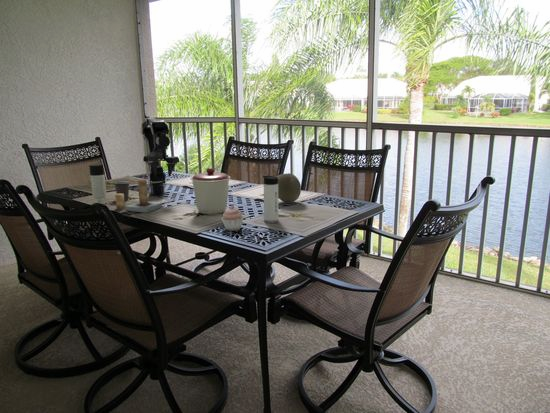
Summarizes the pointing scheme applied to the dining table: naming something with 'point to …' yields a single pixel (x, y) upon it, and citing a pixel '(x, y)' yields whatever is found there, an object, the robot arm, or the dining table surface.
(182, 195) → the dining table surface
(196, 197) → the canister
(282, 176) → the cantaloupe
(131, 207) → the hole plate
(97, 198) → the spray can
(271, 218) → the travel mug
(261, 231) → the dining table surface
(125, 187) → the coffee cup
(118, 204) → the short pin
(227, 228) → the cupcake
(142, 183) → the tall pin
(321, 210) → the dining table surface
